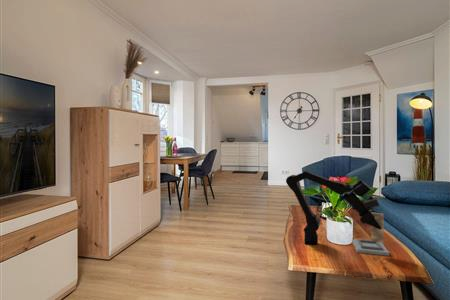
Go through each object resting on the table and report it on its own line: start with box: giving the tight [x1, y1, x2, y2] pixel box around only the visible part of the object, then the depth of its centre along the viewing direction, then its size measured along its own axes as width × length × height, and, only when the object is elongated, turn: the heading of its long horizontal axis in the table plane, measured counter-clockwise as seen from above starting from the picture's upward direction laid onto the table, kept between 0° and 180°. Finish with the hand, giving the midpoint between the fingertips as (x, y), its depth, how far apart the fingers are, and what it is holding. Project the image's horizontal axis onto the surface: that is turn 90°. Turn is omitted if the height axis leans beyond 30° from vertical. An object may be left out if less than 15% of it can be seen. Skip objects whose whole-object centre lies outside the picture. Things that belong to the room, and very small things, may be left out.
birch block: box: [370, 212, 385, 244], centre depth 122 cm, size 5×5×13 cm
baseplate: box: [351, 238, 390, 257], centre depth 129 cm, size 14×14×2 cm
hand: (380, 227), depth 122 cm, fingers closed on birch block, 5 cm apart
